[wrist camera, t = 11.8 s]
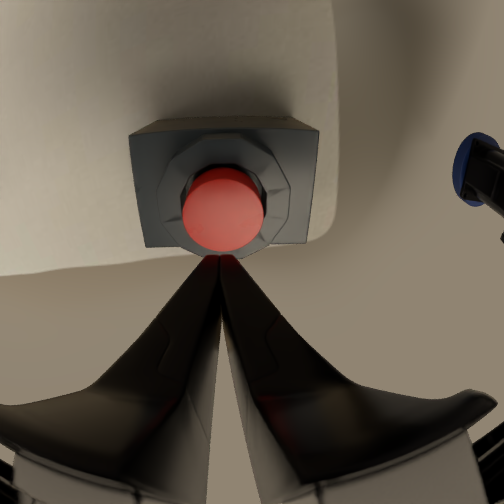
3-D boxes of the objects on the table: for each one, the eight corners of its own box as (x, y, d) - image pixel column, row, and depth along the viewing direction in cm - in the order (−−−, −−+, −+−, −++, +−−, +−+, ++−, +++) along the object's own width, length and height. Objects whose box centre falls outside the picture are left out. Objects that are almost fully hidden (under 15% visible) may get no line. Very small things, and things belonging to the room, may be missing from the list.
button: (260, 166, 13) (265, 178, 11) (258, 232, 15) (262, 250, 13) (184, 168, 12) (178, 180, 11) (190, 234, 14) (186, 252, 13)
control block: (294, 117, 18) (331, 137, 12) (287, 203, 22) (314, 261, 15) (156, 120, 17) (115, 142, 11) (164, 206, 21) (138, 265, 15)
